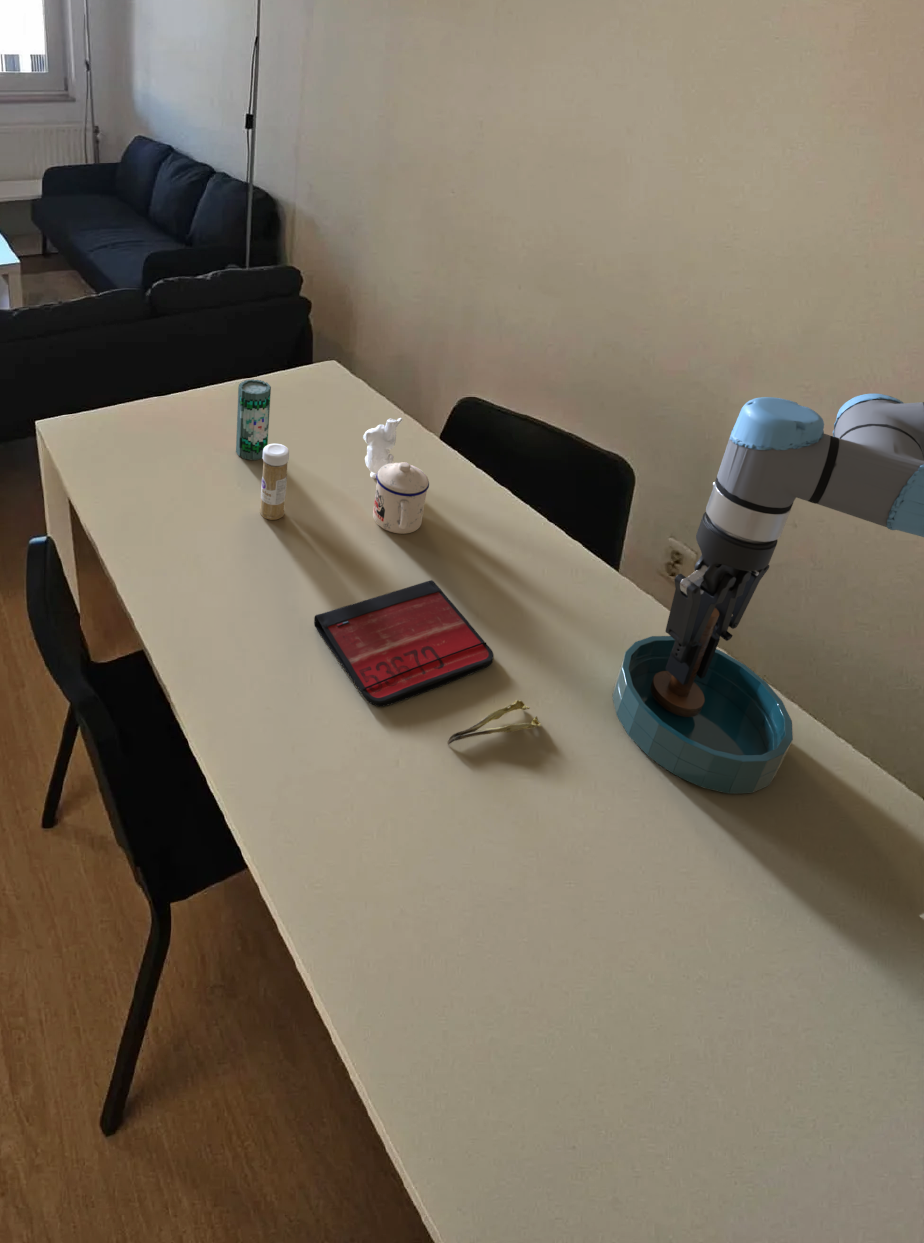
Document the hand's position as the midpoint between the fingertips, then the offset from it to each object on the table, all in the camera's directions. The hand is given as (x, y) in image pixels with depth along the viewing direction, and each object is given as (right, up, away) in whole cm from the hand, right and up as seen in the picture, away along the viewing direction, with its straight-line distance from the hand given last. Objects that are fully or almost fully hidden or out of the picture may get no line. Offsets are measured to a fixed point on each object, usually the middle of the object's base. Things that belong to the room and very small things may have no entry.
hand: (685, 672), depth 96 cm
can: (-55, +19, +56) cm, 81 cm away
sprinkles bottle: (-52, +11, +38) cm, 65 cm away
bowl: (+1, -7, 0) cm, 7 cm away
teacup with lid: (-30, +10, +36) cm, 48 cm away
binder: (-34, -1, +11) cm, 36 cm away
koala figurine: (-30, +16, +51) cm, 61 cm away
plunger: (0, -4, +2) cm, 5 cm away
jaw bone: (-25, -7, -2) cm, 26 cm away
